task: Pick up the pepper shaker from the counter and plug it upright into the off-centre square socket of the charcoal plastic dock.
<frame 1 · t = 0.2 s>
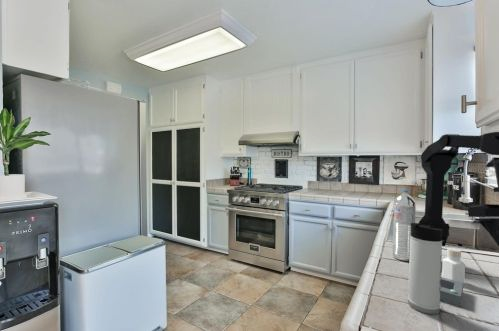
pepper shaker: (452, 282, 75), on the worktop
socket dock: (439, 292, 68), on the worktop
water bottle: (403, 258, 93), on the worktop, touching arm
travel mug: (422, 307, 61), on the worktop
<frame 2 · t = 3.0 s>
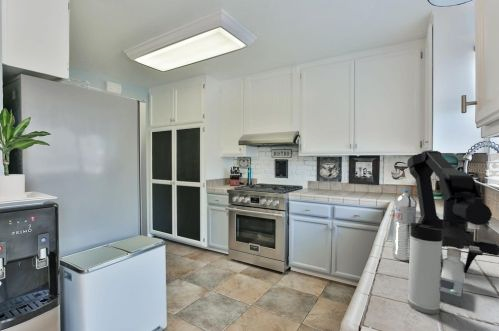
hand: (453, 269, 75), 4 cm above the worktop, tool pointing down, fingers closed on pepper shaker, 5 cm apart
pepper shaker: (452, 282, 75), on the worktop, touching gripper
water bottle: (403, 258, 93), on the worktop
everything else where it was.
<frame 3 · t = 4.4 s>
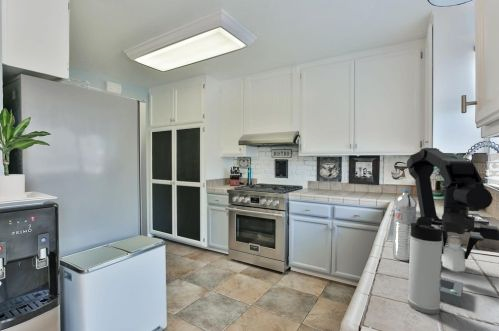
hand: (453, 256, 75), 7 cm above the worktop, tool pointing down, fingers closed on pepper shaker, 5 cm apart
pepper shaker: (453, 269, 75), point 3 cm above the worktop, touching gripper
everything else where it was.
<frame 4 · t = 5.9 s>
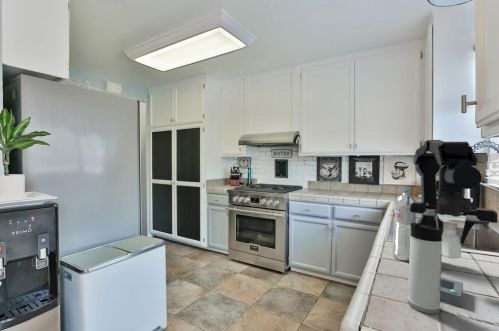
hand: (449, 241, 71), 13 cm above the worktop, tool pointing down, fingers closed on pepper shaker, 5 cm apart
pepper shaker: (448, 257, 72), point 8 cm above the worktop, touching gripper
everything else where it was.
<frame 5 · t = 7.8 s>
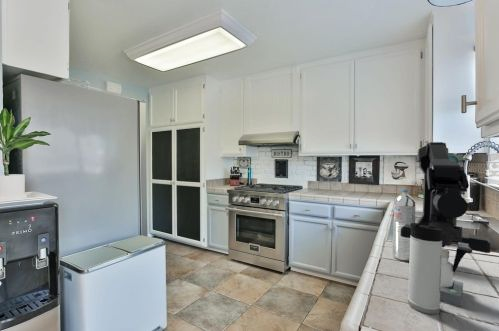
hand: (441, 268, 69), 6 cm above the worktop, tool pointing down, fingers closed on pepper shaker, 5 cm apart
pepper shaker: (440, 285, 69), point 2 cm above the worktop, touching gripper
water bottle: (403, 258, 93), on the worktop, touching arm
everything else where it was.
when the fingers open (4 cm above the worktop, at t = 9.1 s): pepper shaker stays where it is, resting in socket dock.
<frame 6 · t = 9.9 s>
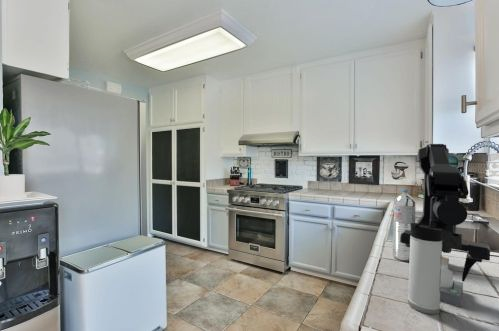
hand: (440, 275, 69), 4 cm above the worktop, tool pointing down, fingers open, 9 cm apart
pepper shaker: (440, 292, 69), resting in socket dock
everything else where it was.
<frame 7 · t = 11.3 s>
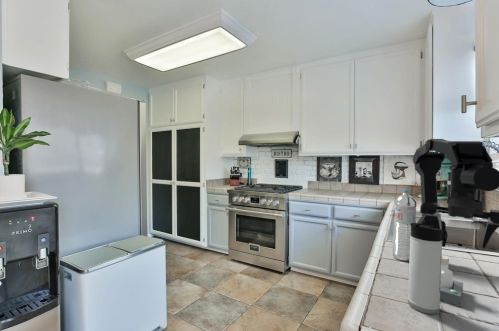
hand: (461, 243, 70), 13 cm above the worktop, tool pointing down, fingers open, 9 cm apart
water bottle: (403, 259, 93), on the worktop
everything else where it was.
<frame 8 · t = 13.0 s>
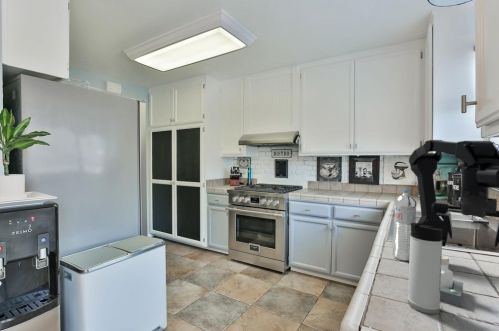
hand: (472, 242, 71), 13 cm above the worktop, tool pointing down, fingers open, 9 cm apart
nothing on the worktop moved.
at the end: pepper shaker 0.1 cm off-centre on the socket dock, point 0.0 cm above the socket dock's base; pepper shaker tilted 0°; the gripper is holding nothing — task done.
